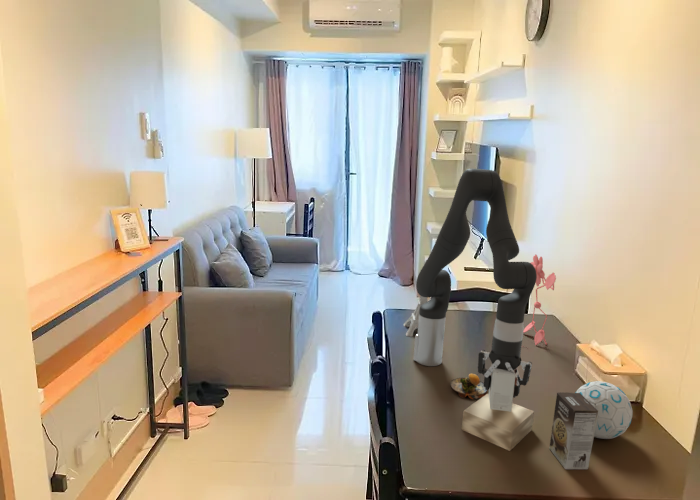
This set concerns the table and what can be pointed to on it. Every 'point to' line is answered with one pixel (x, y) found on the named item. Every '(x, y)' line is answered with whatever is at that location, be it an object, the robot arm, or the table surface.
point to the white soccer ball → (608, 408)
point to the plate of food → (469, 387)
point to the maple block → (497, 423)
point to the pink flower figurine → (548, 283)
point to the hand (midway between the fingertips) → (500, 392)
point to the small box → (501, 390)
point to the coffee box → (573, 430)
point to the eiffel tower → (415, 317)
